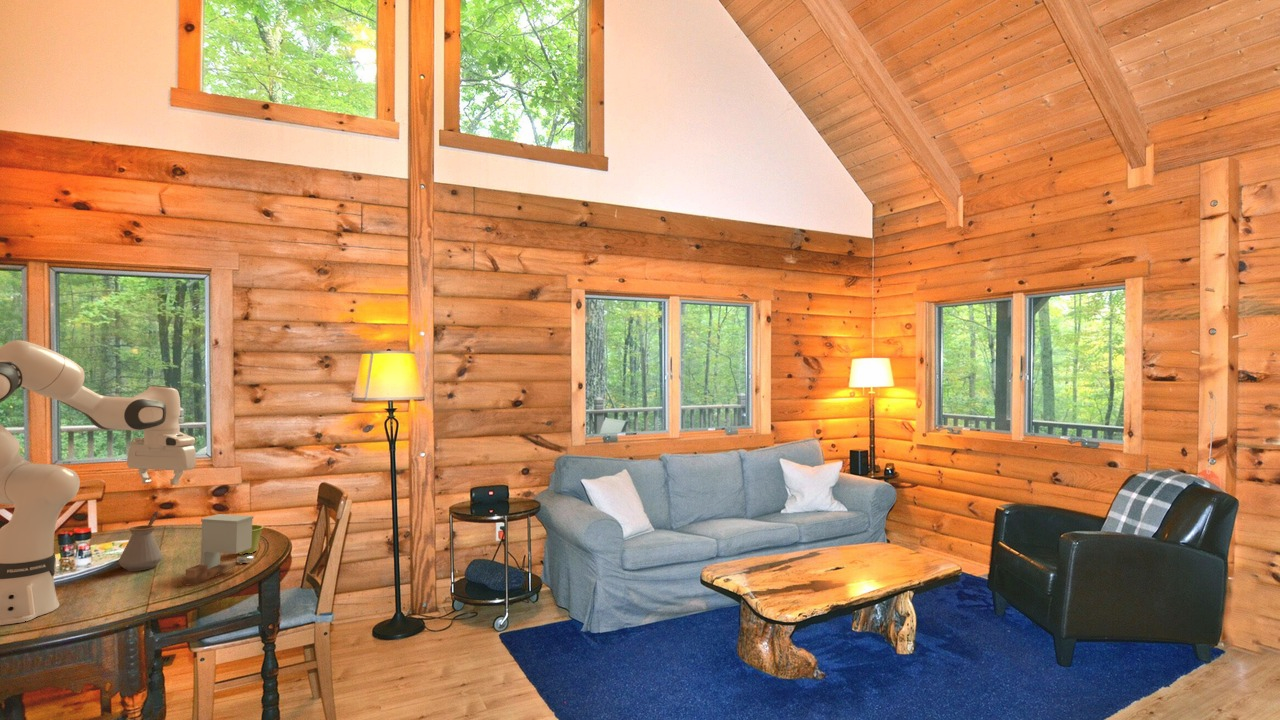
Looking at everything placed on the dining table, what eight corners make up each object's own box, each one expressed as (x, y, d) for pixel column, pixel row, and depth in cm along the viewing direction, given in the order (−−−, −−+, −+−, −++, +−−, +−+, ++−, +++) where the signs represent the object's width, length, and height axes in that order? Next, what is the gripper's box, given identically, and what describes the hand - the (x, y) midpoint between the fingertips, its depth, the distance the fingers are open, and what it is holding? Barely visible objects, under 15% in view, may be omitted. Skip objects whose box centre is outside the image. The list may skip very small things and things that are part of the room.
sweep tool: (194, 585, 199) (195, 570, 199) (185, 584, 199) (185, 569, 199) (235, 567, 216) (236, 553, 216) (227, 567, 217) (227, 553, 217)
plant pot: (241, 548, 238) (242, 524, 238) (267, 549, 238) (268, 524, 238) (225, 555, 229) (226, 530, 229) (252, 556, 229) (253, 531, 229)
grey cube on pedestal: (235, 574, 209) (237, 521, 209) (199, 572, 211) (201, 519, 211) (251, 567, 217) (253, 516, 217) (216, 565, 218) (218, 514, 218)
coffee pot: (156, 571, 211) (157, 523, 211) (112, 574, 206) (113, 525, 207) (176, 553, 231) (177, 509, 231) (136, 555, 226) (137, 511, 227)
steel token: (237, 565, 219) (238, 559, 219) (235, 561, 223) (235, 556, 223) (255, 563, 222) (255, 557, 222) (252, 559, 226) (253, 553, 226)
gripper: (121, 438, 201) (120, 484, 201) (184, 440, 199) (182, 487, 199) (139, 436, 207) (138, 480, 207) (200, 438, 205) (198, 483, 205)
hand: (160, 483), depth 203 cm, fingers open, 8 cm apart
